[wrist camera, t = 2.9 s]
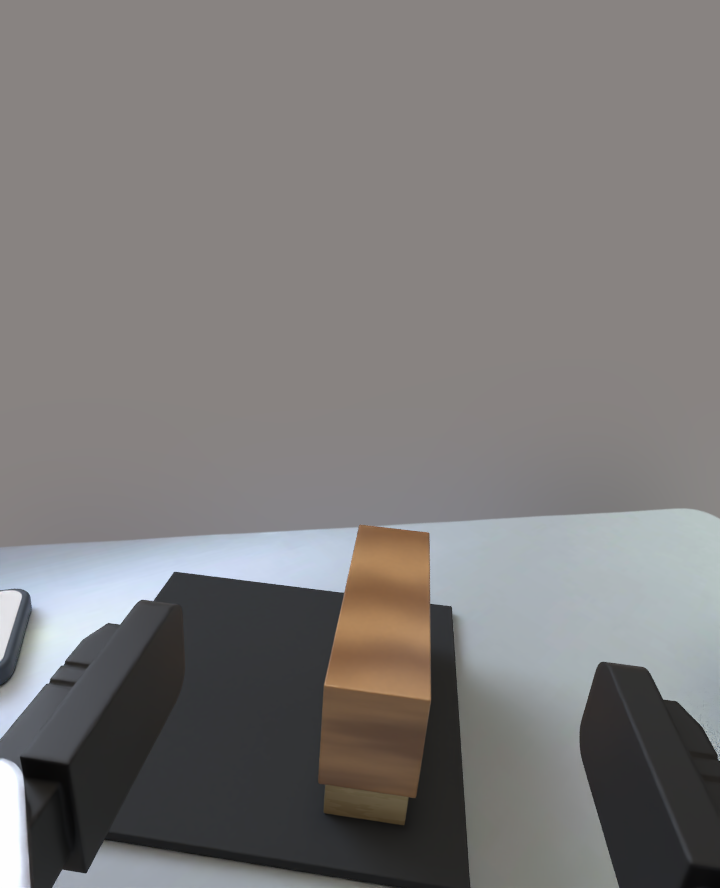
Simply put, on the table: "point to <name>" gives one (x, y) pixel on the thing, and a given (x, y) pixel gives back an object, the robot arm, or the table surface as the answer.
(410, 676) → the tall wood grain block
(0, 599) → the smartphone
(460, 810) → the mat
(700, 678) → the table surface
